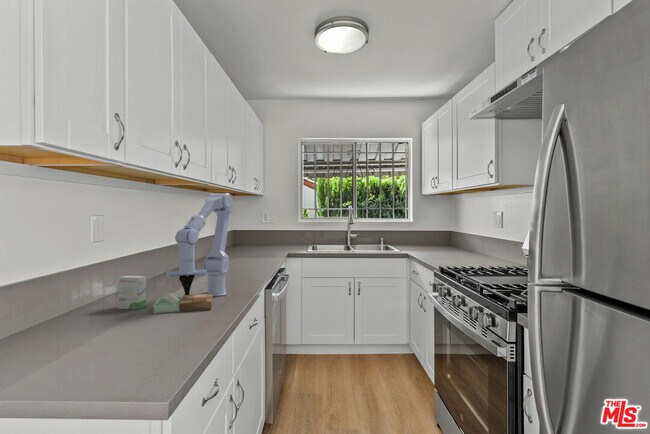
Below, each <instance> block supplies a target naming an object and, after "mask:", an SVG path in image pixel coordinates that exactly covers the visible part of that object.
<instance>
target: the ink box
mask: <svg viewBox="0 0 650 434" xmlns="http://www.w3.org/2000/svg"><path fill="white" fill-rule="evenodd" d="M145 307H147V276H145V275H123V276H120V277H118V278H117V309H118V310H141V309H143V308H145Z"/></svg>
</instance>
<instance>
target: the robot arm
mask: <svg viewBox="0 0 650 434" xmlns="http://www.w3.org/2000/svg"><path fill="white" fill-rule="evenodd" d="M233 204H234V200H233V197H232V195H231V194H230V193H229V192H225V193H211V192H210V193H209V194H208V195H207V196H206V197H205V202H204V205H203V206H202V207H201V209H200V211H199V212H198V214H195V215H192V216H191V217H190V220H188V221H187V223H186V225H184V227H183V228H179V230H178V231H177V232H176V233H175V236H174V238H175V241H176V244H177V248H178V270H171V271H169V270H168V271H166V278H175V277H177V278H178V279H179V282H180V284H181V285H182V287H183V291H184V295H190V292H191V291H190V290H191V288H192V283H193V281H194V279H195V277H197V276H207V290H206V291H207V293H206V294H213V297H221V296H226V295H227V289H226V274H227V272H228V271H229V269H230V259H229V258H230V257H229V255H228V254H227V253H226V252H225V250H226V244H227V238H228V231H229V225H230V219H231V213H232V212H233V211H232V210H233ZM212 213H214V214H216V216H217V219H216V225H215V229H214V235H213V241H212V242H213V243H212V248H211V250H210V251H209V252H208V253H207V254H206V256H205V259H204V261H203V264H202V266H203V267H202V268H203V269H196V266H195V265H196V262H195V261H196V259H195V257H196V255H195V254H196V253H195V252H196V249H195V248H196V246H195V245H196V243H197V242H198V240H199V235H200V232H201V231H202V229H203V228H204V227H205V225H206V220H207V218H208V217H209V216H210V215H211V214H212Z"/></svg>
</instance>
